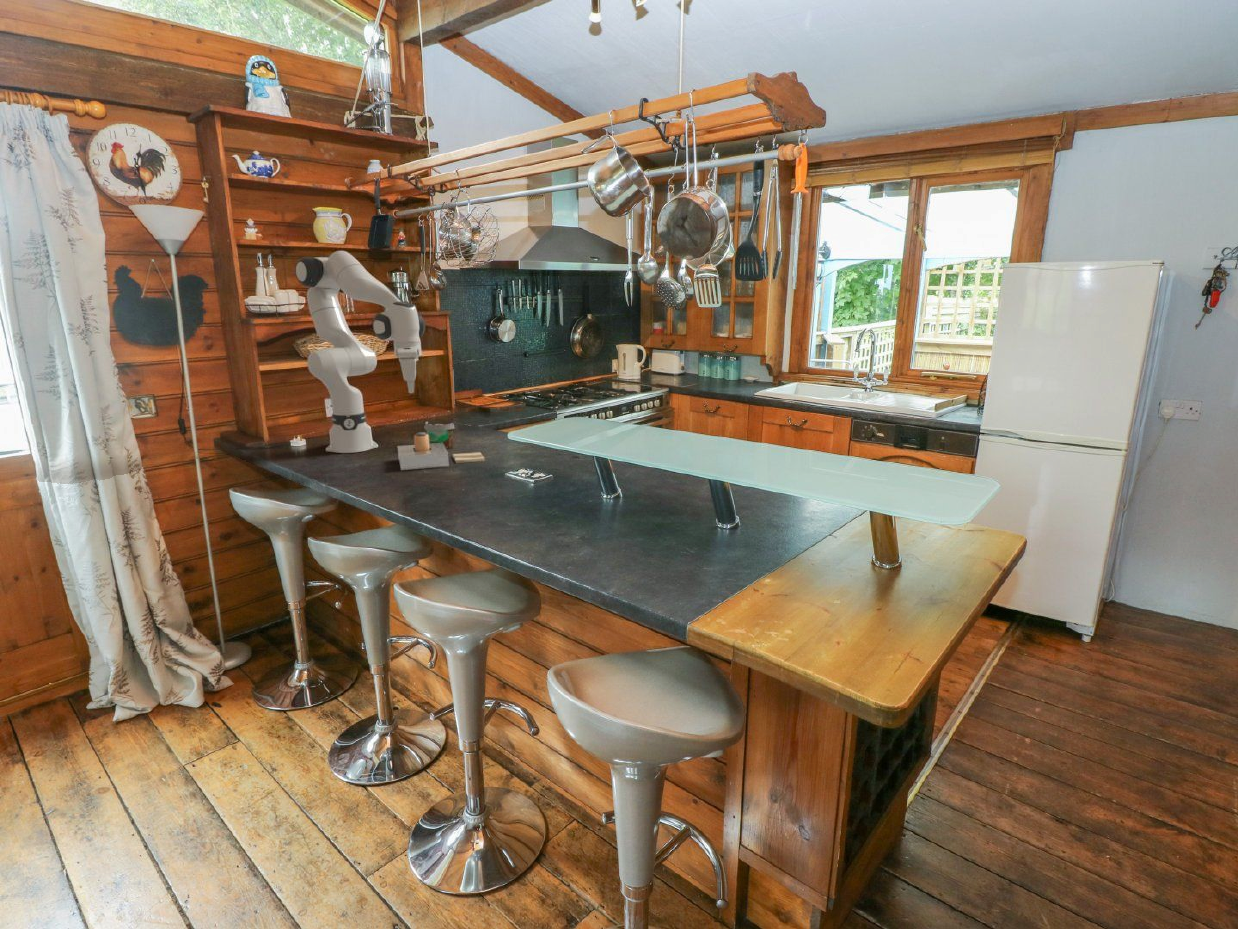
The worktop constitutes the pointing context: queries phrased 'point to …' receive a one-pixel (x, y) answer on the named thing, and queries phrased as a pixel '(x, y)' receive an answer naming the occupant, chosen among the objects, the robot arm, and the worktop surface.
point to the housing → (423, 457)
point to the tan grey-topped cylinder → (421, 442)
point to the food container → (440, 434)
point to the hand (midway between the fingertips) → (411, 391)
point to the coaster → (468, 457)
